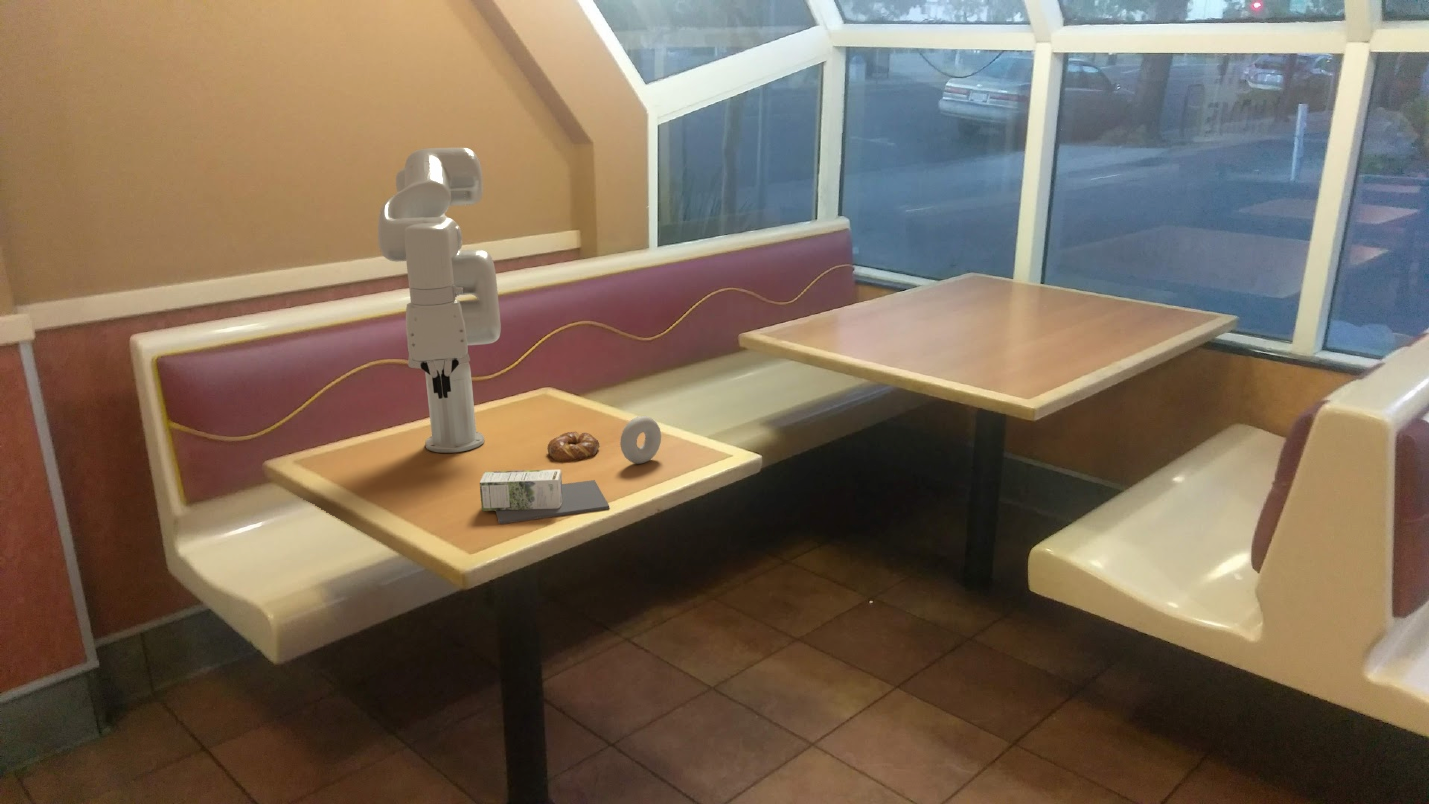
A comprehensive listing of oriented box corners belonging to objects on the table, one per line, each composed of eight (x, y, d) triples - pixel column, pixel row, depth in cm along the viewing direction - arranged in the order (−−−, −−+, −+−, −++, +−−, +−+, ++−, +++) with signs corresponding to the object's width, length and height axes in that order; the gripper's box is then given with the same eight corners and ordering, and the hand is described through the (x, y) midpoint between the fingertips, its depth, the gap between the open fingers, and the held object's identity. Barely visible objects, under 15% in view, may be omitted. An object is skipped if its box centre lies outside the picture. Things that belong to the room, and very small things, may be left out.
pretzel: (576, 467, 208) (575, 450, 207) (535, 458, 214) (534, 442, 213) (610, 449, 218) (609, 433, 217) (570, 441, 224) (569, 425, 222)
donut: (654, 454, 213) (652, 409, 211) (665, 458, 211) (663, 412, 208) (617, 467, 207) (615, 420, 204) (628, 471, 204) (626, 424, 202)
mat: (491, 496, 193) (491, 493, 192) (594, 482, 198) (594, 480, 198) (499, 524, 180) (499, 520, 180) (609, 508, 186) (609, 505, 185)
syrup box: (486, 500, 189) (564, 496, 190) (481, 512, 184) (561, 508, 184) (483, 471, 188) (562, 468, 189) (478, 482, 182) (559, 479, 183)
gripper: (474, 288, 181) (482, 386, 187) (387, 295, 177) (398, 395, 182) (478, 296, 174) (487, 397, 180) (388, 303, 170) (400, 407, 176)
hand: (442, 396), depth 181 cm, fingers closed
